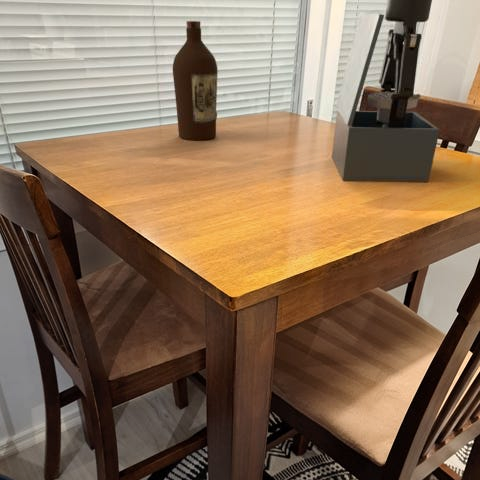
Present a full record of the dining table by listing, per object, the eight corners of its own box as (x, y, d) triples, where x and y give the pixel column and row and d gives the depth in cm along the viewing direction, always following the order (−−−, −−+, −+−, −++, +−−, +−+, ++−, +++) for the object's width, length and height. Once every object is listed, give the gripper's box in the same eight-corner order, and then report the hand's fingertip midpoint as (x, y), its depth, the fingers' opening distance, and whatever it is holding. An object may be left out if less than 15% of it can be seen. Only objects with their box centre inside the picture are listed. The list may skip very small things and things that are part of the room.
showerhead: (412, 98, 89) (360, 92, 94) (404, 139, 93) (355, 132, 98) (429, 90, 96) (379, 85, 100) (421, 129, 100) (374, 123, 104)
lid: (365, 12, 95) (361, 11, 95) (384, 15, 81) (379, 14, 81) (338, 108, 105) (335, 107, 105) (351, 125, 91) (347, 124, 91)
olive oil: (168, 134, 126) (161, 20, 113) (202, 129, 132) (199, 19, 118) (191, 143, 119) (186, 22, 106) (226, 137, 125) (226, 21, 111)
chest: (406, 158, 110) (415, 111, 105) (428, 182, 96) (440, 129, 91) (331, 157, 110) (336, 110, 105) (342, 180, 96) (349, 127, 91)
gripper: (376, -5, 96) (359, 117, 108) (404, -6, 77) (380, 142, 90) (415, -5, 96) (393, 118, 108) (453, -5, 77) (422, 143, 89)
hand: (388, 129), depth 99 cm, fingers closed on showerhead, 9 cm apart
